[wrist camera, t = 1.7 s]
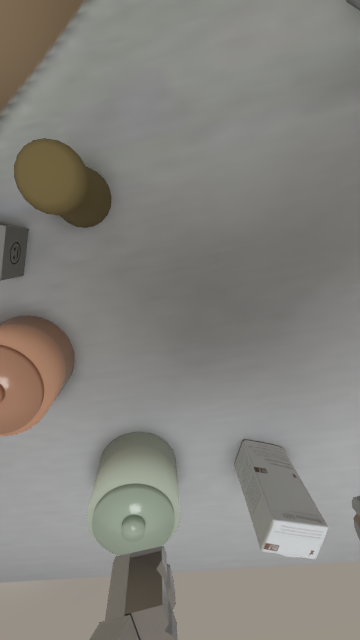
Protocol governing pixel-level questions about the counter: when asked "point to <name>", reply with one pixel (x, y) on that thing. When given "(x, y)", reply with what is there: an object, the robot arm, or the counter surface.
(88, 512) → the sage canister
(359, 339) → the counter surface
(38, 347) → the terracotta canister
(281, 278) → the counter surface
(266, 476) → the skincare box
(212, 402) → the counter surface
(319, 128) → the counter surface
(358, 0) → the coffee maker
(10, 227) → the dice cube
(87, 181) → the cork
